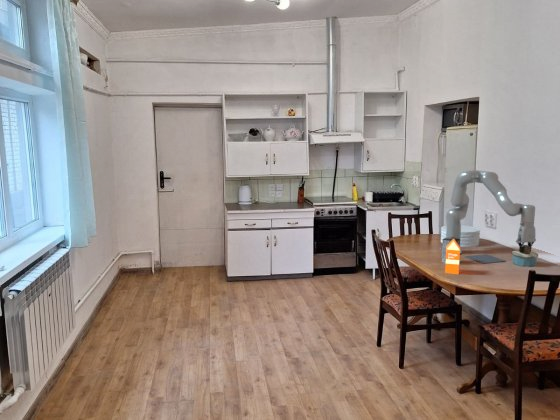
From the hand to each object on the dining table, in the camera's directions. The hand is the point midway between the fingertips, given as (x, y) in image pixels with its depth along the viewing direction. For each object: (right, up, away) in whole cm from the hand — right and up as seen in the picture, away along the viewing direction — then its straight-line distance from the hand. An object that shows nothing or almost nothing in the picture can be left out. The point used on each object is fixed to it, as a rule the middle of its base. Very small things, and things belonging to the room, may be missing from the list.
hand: (525, 251), depth 291 cm
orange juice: (-53, -11, -14) cm, 56 cm away
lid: (0, -2, 0) cm, 2 cm away
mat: (-20, -6, +13) cm, 25 cm away
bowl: (0, -8, +1) cm, 8 cm away
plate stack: (-17, +1, +62) cm, 65 cm away
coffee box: (-46, -8, +6) cm, 47 cm away
